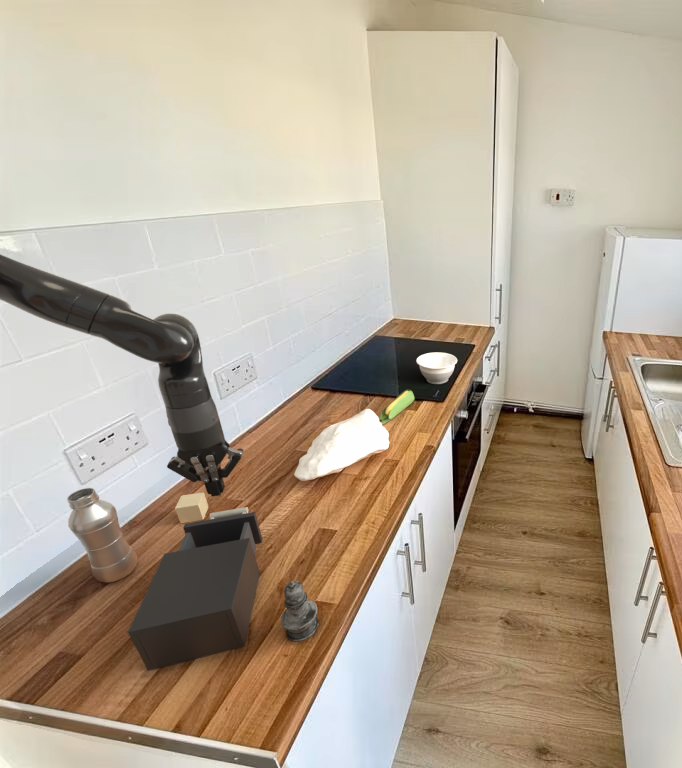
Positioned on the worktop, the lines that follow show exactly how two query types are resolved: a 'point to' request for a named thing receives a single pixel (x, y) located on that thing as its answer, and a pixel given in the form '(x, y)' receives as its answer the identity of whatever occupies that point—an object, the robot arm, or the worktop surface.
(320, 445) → the crumpled cloth
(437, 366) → the bowl
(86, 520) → the silver metal bottle
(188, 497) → the block
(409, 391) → the edible corn
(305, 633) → the grey tiered figure
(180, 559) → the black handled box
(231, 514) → the drawer
